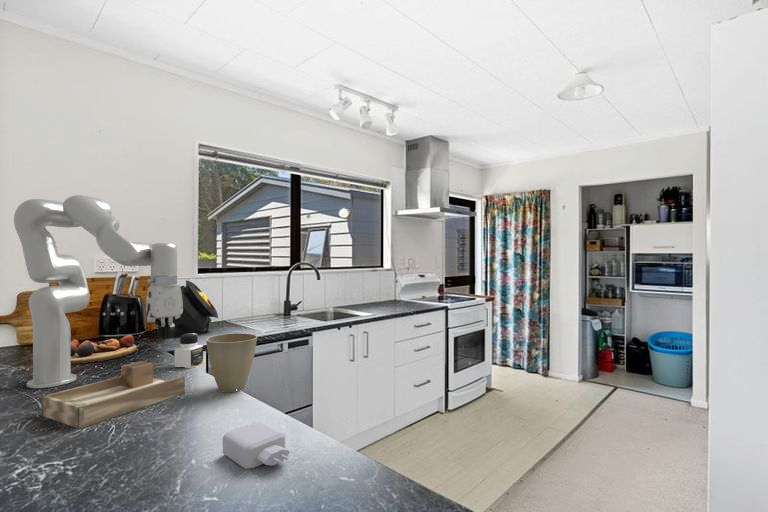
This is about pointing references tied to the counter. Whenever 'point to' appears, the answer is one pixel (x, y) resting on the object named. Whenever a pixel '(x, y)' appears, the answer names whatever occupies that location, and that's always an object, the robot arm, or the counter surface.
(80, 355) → the wooden plate with food
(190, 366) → the medicine bottle
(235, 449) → the charger
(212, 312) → the cauldron
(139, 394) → the box
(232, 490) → the counter surface
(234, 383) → the plant pot
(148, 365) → the walnut block
